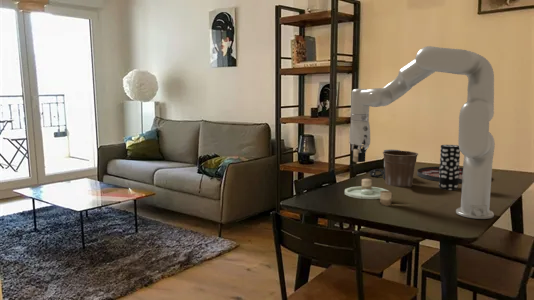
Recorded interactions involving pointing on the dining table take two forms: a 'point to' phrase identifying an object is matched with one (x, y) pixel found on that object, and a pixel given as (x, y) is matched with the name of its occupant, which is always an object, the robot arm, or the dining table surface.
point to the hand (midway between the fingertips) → (358, 160)
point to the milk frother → (380, 169)
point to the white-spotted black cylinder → (449, 167)
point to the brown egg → (385, 198)
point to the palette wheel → (435, 173)
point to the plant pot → (399, 167)
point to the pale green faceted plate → (364, 192)
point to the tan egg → (355, 155)
